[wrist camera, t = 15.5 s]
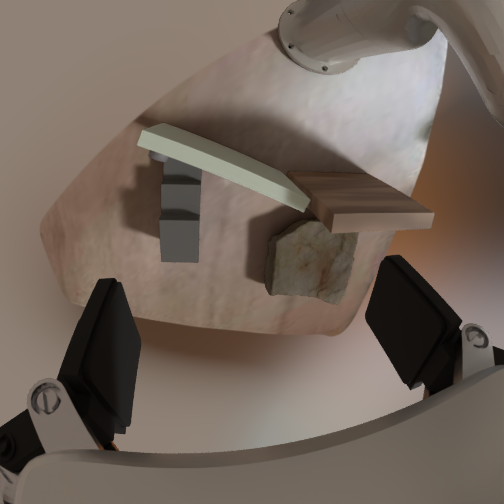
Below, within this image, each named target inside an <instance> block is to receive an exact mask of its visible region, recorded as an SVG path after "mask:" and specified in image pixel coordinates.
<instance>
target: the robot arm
mask: <svg viewBox="0 0 504 504" xmlns="http://www.w3.org/2000/svg"><path fill="white" fill-rule="evenodd" d="M288 13H290V14H291V15H289V14H288ZM438 28H439V29H440V31H441V32H442V33H443V34H444V36H445V37H446V39H447V40H448V41H449V43H450V44H451V46H452V47H453V48H454V49H455V51H456V53H457V54H458V56H459V57H460V59H461V61H462V62H463V64H464V66H465V67H466V69H467V71H468V73H469V74H470V76H471V78H472V80H473V82H474V83H475V86H476V88H477V89H478V91H479V93H480V95H481V97H482V99H483V101H484V103H485V105H486V106H487V108H488V110H489V111H490V113H491V114H492V116H493V117H494V118H495V120H496V121H497V122H498V123H499V124H500V125H501V126H503V127H504V0H298V1H296V2H294V3H292V4H291V5H290V6H289V7H287V8H286V9H285V11H284V12H283V13H282V15H281V17H280V19H279V24H278V35H279V39H280V42H281V44H282V46H283V48H284V50H285V51H286V53H287V54H288V55H289V56H290V57H291V58H292V59H293V61H295V62H296V63H297V64H299V65H300V66H301V67H303V68H305V69H307V70H309V71H312V72H315V73H319V74H324V75H333V74H339V73H343V72H346V71H348V70H349V69H351V68H353V67H354V66H355V65H356V64H357V63H358V61H359V60H360V58H363V57H369V56H374V55H380V54H386V53H393V52H400V51H407V50H413V49H417V48H419V47H422V46H423V45H425V44H426V43H428V42H429V41H430V40H431V39H432V37H433V36H434V35H435V33H436V31H437V29H438ZM288 46H290V47H291V49H289V48H288ZM322 68H324V70H322ZM365 319H366V322H367V323H368V325H369V326H370V328H371V330H372V331H373V333H374V335H375V336H376V338H377V339H378V341H379V343H380V344H381V346H382V348H383V349H384V351H385V353H386V354H387V356H388V357H389V359H390V361H391V363H392V364H393V366H394V368H395V370H396V371H397V373H398V375H399V376H400V378H401V380H402V381H403V383H404V384H407V386H408V387H409V389H410V390H412V389H414V388H417V387H419V386H421V384H422V383H424V385H425V389H424V395H423V400H421V401H419V402H417V403H415V404H412V405H411V406H408V407H406V408H403V409H401V410H398V411H396V412H394V413H391V414H388V415H386V416H383V417H380V418H377V419H375V420H372V421H369V422H366V423H363V424H360V425H357V426H354V427H351V428H347V429H345V430H341V431H337V432H333V433H330V434H326V435H322V436H318V437H314V438H310V439H305V440H301V441H296V442H291V443H286V444H280V445H274V446H268V447H262V448H255V449H246V450H238V451H227V452H213V453H183V454H181V453H180V454H179V453H178V454H166V453H165V454H164V453H139V452H125V451H119V449H118V448H117V447H116V445H115V444H114V443H113V440H114V433H118V434H125V433H126V427H129V426H130V424H131V417H132V407H133V398H134V390H135V383H136V376H137V369H138V362H139V356H140V350H141V338H140V336H139V333H138V330H137V327H136V325H135V322H134V319H133V316H132V313H131V310H130V307H129V304H128V301H127V298H126V295H125V292H124V289H123V286H122V283H121V282H117V280H116V279H115V278H105V279H99V280H98V281H97V283H96V286H95V288H94V290H93V292H92V294H91V296H90V298H89V300H88V303H87V305H86V307H85V310H84V312H83V314H82V316H81V318H80V320H79V321H78V324H77V326H76V328H75V331H74V333H73V336H72V338H71V341H70V344H69V346H68V349H67V352H66V354H65V357H64V360H63V362H62V365H61V368H60V371H59V374H58V377H57V380H56V379H52V378H46V379H43V380H40V381H38V382H37V383H36V384H34V385H33V387H32V388H31V389H30V391H29V394H28V397H27V406H28V409H26V410H25V411H23V412H22V413H20V414H19V415H17V416H16V417H14V418H13V419H11V420H10V421H9V422H7V423H6V424H4V425H3V426H1V427H0V504H504V350H502V349H500V348H497V347H494V346H492V341H491V338H490V335H489V334H488V332H487V331H486V330H485V329H484V328H482V327H481V326H479V325H477V324H473V323H469V324H466V325H464V327H463V328H462V330H460V329H459V326H460V325H461V323H462V320H461V319H460V317H459V316H458V315H457V314H456V313H455V312H454V310H453V309H452V308H451V307H450V306H449V305H448V304H447V303H446V301H445V300H444V299H443V298H442V297H441V296H440V295H439V294H438V293H437V292H436V291H435V290H434V289H433V287H432V286H431V285H430V284H429V283H428V282H427V281H426V280H425V279H424V278H423V277H422V276H421V275H420V274H419V273H418V272H417V271H416V270H415V269H414V268H413V267H412V266H411V265H410V264H409V263H408V262H407V261H406V260H405V259H404V258H403V257H402V256H400V255H391V256H386V257H385V258H384V260H382V261H381V263H380V267H379V270H378V274H377V277H376V281H375V285H374V288H373V291H372V294H371V298H370V301H369V304H368V307H367V310H366V313H365Z"/></svg>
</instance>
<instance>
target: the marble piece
mask: <svg viewBox="0 0 504 504" xmlns="http://www.w3.org/2000/svg"><path fill="white" fill-rule="evenodd" d="M358 234H359V232H351V233H333V234H331V233H330V231H329V230H328V229H327V228H326V227H325V226H324V225H323V223H322V222H321V221H320V220H319V219H309V220H299V221H297V222H295V223H293V224H291V225H290V226H289V227H288V228H287V229H286V230H285V231H283V232H282V233H281V234H279V235H274V236H273V237H272V239H271V240H269V241H268V247H269V253H268V255H267V257H266V264H265V274H264V278H265V281H264V282H265V288H266V290H267V292H268V293H269V295H272V296H274V295H278V294H280V295H289V296H293V295H300V296H309V297H310V296H311V297H316V298H319V299H322V300H323V301H325V302H327V303H330V304H335V305H337V304H339V303H340V302H341V300H342V298H343V296H344V294H345V291H346V287H347V284H348V280H349V277H350V274H351V270H352V266H353V262H354V257H353V255H354V252H355V249H356V245H357V240H358Z"/></svg>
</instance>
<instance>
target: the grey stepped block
mask: <svg viewBox="0 0 504 504" xmlns="http://www.w3.org/2000/svg"><path fill="white" fill-rule="evenodd" d="M201 174H202V169H200V168H198V167H195V166H192V165H190V164H187V163H185V162H182V161H179V160H177V159H174V158H171V157H168V159H167V162H164V170H163V182H162V184H161V217H160V219H159V229H160V249H161V262H191V263H198V259H199V223H200V195H201Z"/></svg>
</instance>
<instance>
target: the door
mask: <svg viewBox="0 0 504 504" xmlns="http://www.w3.org/2000/svg"><path fill="white" fill-rule="evenodd" d="M137 146H140V147H143V148H146V149H149V150H151V151H150V153H149V157H150V158H152V159H154V160H157V161H161V162H167V159H168V157H171V158H174V159H177V160H179V161H182V162H185V163H187V164H190V165H192V166H195V167H198V168H200V169H203V170H205V171H208V172H210V173H213V174H215V175H218V176H220V177H223V178H225V179H228V180H230V181H233V182H235V183H237V184H240V185H242V186H245V187H247V188H249V189H252V190H254V191H256V192H259V193H261V194H263V195H266V196H268V197H270V198H272V199H275V200H277V201H279V202H281V203H284V204H286V205H288V206H290V207H292V208H295V209H297V210H299V211H301V212H303V213H304V211H305V209H306V207H307V206H308V204H309V202H310V199H309V198H308V197H307V196H306V195H305V194H304V193H303V192H302V191H301V190H300V189H299V188H298V187H297V186H296V185H295V184H294V183H293V182H292V181H291V180H290V179H289V178H287V177H286V176H285V175H284V174H283V173H282V172H281V171H279V170H277V169H274V168H272V167H270V166H268V165H266V164H264V163H262V162H259V161H257V160H255V159H253V158H251V157H248V156H246V155H244V154H242V153H239V152H237V151H235V150H232V149H230V148H228V147H225V146H223V145H220V144H218V143H216V142H213V141H211V140H208V139H206V138H203V137H201V136H198V135H196V134H193V133H190V132H188V131H185V130H183V129H180V128H177V127H174V126H172V125H169V124H166V123H161V124H158V125H155V126H152V127H150V128H147V129H144V130H143V131H142V133H141V136H140V139H139V141H138V144H137Z"/></svg>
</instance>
